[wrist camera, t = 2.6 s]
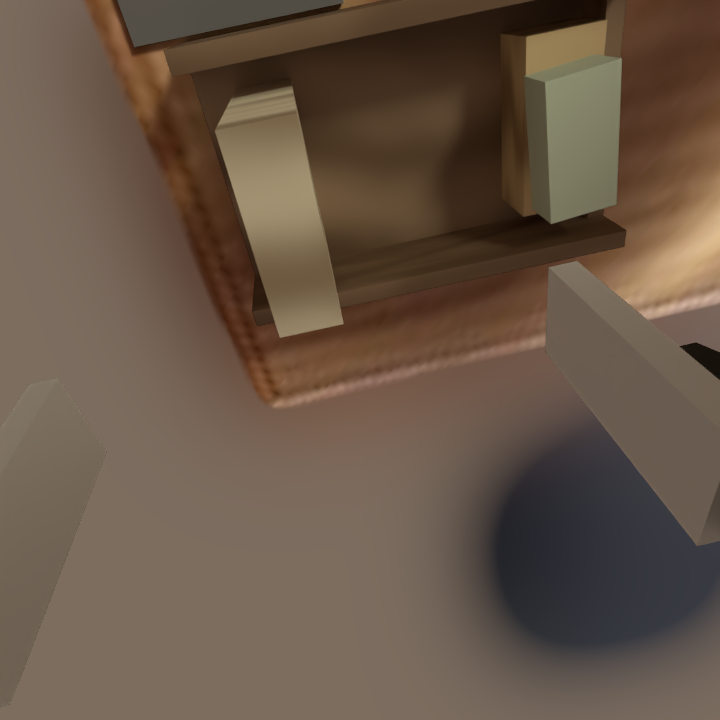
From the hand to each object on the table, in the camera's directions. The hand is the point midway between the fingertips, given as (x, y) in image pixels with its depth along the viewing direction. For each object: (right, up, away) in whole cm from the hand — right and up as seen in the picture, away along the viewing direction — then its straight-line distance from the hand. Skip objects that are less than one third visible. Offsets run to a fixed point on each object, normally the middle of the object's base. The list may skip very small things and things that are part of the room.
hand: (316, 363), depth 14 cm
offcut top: (+12, +12, +14) cm, 22 cm away
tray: (+4, +13, +17) cm, 22 cm away
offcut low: (+11, +14, +16) cm, 24 cm away
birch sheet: (-3, +11, +16) cm, 20 cm away
